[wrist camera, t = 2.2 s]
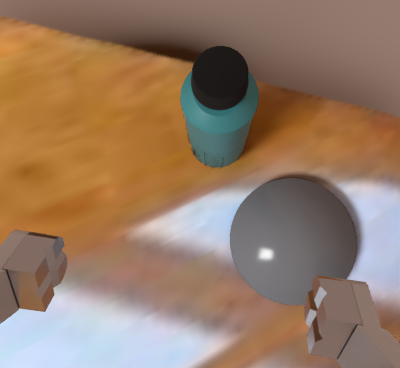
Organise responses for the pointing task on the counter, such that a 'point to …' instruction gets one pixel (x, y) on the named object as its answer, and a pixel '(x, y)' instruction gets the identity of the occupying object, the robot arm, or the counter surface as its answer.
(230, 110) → the beverage bottle
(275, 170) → the counter surface
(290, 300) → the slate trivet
